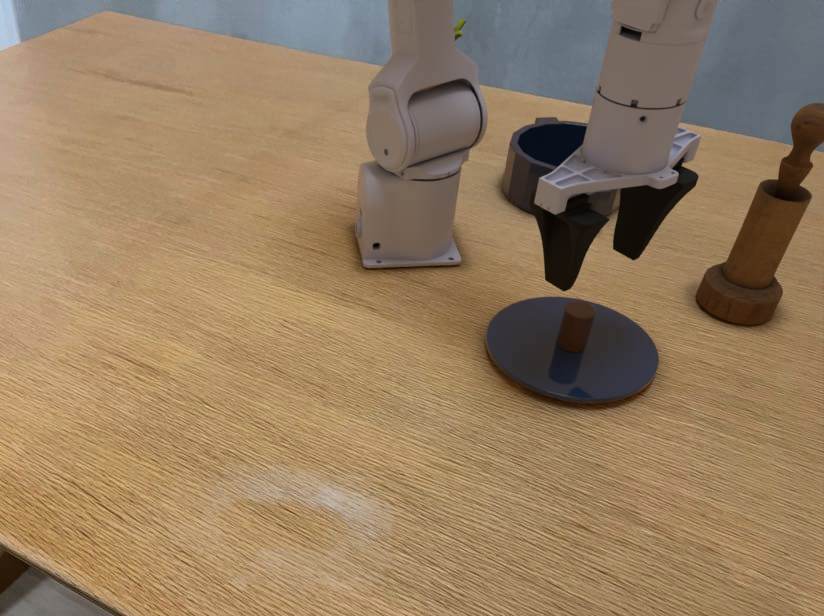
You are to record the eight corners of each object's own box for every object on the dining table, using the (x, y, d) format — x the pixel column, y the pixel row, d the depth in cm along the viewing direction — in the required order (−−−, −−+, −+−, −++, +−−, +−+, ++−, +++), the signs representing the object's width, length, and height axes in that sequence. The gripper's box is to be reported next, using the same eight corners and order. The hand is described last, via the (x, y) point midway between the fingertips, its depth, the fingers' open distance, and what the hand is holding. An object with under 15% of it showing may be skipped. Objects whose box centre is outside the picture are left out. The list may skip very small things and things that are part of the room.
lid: (507, 413, 64) (518, 367, 61) (468, 309, 74) (476, 265, 71) (682, 405, 64) (702, 359, 61) (619, 303, 74) (633, 259, 71)
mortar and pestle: (781, 329, 71) (882, 126, 59) (702, 320, 72) (786, 118, 60) (764, 288, 76) (854, 93, 64) (690, 280, 77) (766, 86, 65)
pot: (526, 236, 83) (536, 187, 79) (484, 157, 96) (492, 112, 93) (649, 232, 83) (664, 183, 80) (590, 154, 97) (601, 109, 93)
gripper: (615, 140, 49) (566, 325, 58) (763, 87, 55) (697, 263, 64) (528, 102, 53) (495, 279, 62) (673, 56, 59) (623, 225, 68)
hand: (592, 268), depth 63 cm, fingers open, 7 cm apart
